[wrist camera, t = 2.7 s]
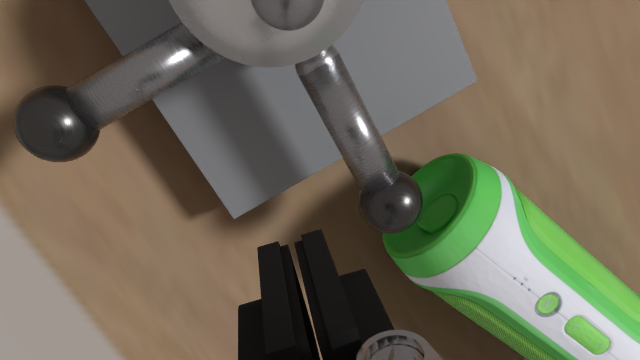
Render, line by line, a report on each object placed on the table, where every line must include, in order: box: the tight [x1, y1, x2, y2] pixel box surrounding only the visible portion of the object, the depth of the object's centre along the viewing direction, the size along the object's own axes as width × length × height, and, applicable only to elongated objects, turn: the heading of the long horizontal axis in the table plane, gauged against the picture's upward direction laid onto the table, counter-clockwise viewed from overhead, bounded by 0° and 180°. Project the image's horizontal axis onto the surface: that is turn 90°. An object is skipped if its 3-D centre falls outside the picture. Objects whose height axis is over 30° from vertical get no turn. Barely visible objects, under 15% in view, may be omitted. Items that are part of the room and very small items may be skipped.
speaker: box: [383, 153, 640, 360], centre depth 27 cm, size 18×7×8 cm, turn 51°
